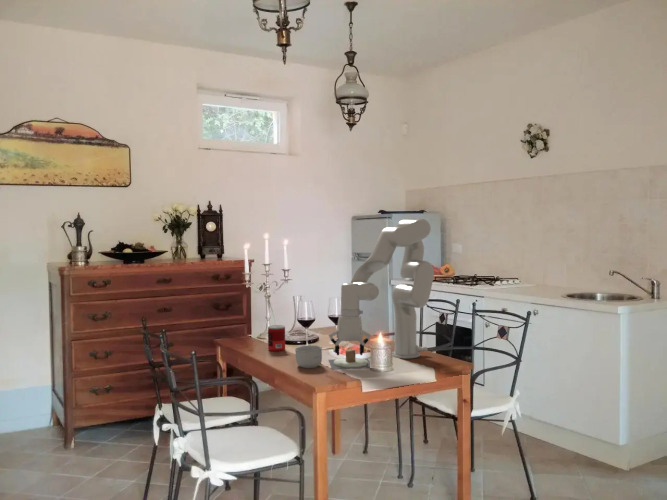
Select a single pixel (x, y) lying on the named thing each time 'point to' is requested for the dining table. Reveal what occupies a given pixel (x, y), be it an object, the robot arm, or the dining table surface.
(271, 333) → the canned food
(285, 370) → the dining table surface
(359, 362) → the lid
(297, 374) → the dining table surface
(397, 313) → the robot arm
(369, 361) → the mat
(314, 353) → the teacup
